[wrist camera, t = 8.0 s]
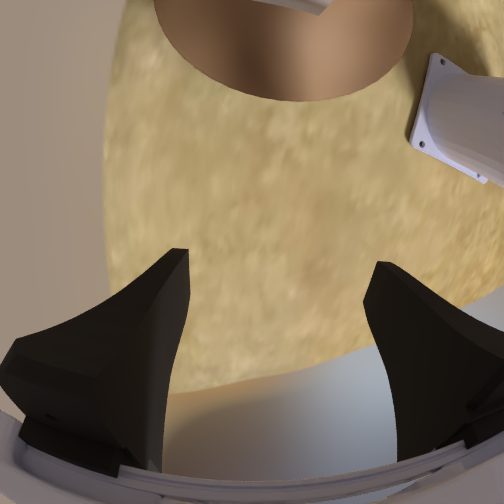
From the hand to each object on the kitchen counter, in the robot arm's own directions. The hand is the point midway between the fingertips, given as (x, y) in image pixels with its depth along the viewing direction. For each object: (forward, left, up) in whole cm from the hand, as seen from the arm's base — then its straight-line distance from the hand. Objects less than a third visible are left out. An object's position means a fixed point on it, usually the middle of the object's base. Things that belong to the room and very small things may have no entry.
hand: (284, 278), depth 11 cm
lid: (+2, -13, -6) cm, 14 cm away
